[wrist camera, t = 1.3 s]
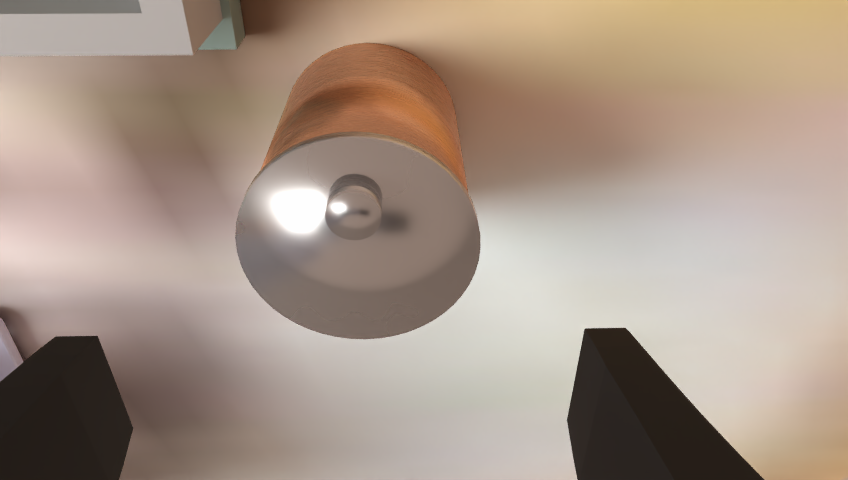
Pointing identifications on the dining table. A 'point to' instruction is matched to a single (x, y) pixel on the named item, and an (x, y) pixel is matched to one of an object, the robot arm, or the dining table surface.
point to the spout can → (362, 199)
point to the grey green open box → (118, 27)
